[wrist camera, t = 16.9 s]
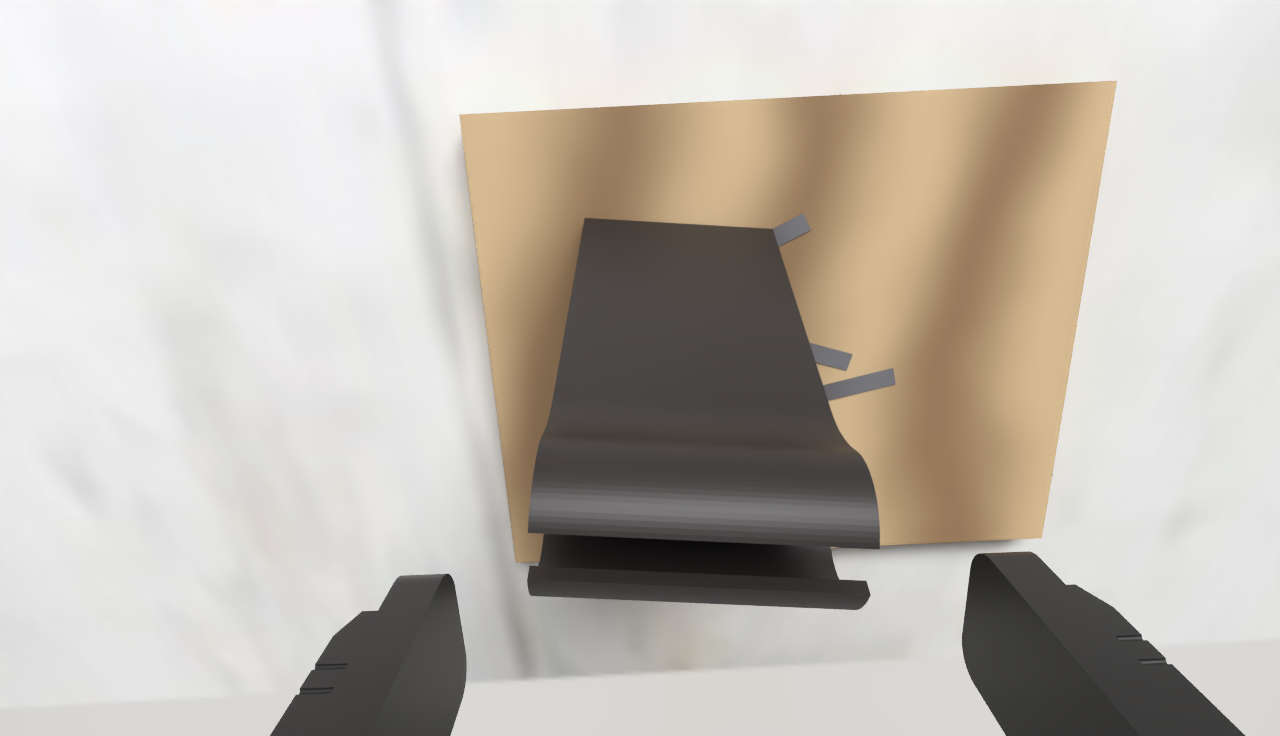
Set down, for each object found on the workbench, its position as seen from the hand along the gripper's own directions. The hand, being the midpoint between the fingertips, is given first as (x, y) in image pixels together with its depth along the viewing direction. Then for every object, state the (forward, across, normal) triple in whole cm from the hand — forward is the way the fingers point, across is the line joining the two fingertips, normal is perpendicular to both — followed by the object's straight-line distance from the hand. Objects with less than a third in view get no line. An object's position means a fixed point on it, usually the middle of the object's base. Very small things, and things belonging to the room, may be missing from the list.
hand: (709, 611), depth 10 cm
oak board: (+14, -4, 0) cm, 15 cm away
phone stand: (+13, 0, 0) cm, 13 cm away
